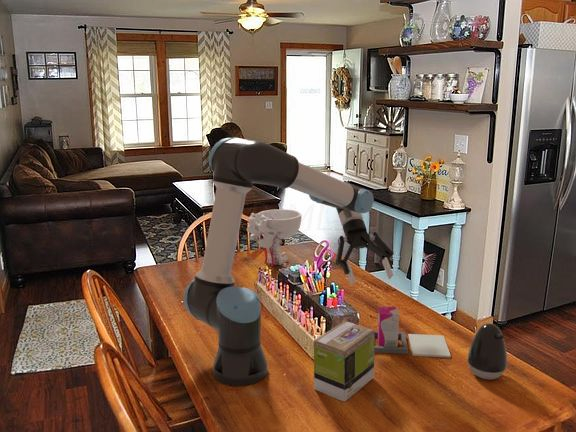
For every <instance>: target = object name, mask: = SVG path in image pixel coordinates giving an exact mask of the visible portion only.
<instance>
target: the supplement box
mask: <svg viewBox="0 0 576 432" xmlns="http://www.w3.org/2000/svg"><path fill="white" fill-rule="evenodd" d="M377 317H378V318H377V319H378V320H377V321H378V322H377V323H378V324H377V325H378V326H377V331H378V337H377V343H378V345H377V346H386V347H399V338H398V332H399V324H400V323H399V322H400V320H399V319H400V313H399V310H398V306H378V316H377Z"/></svg>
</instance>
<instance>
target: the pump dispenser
mask: <svg viewBox="0 0 576 432" xmlns="http://www.w3.org/2000/svg"><path fill="white" fill-rule="evenodd" d="M467 363H468V366H469V368H470V370H471V372H472V374H474V375H475V376H477V377H478V378H481V379H483V380H488V381H489V380H496V379H498V378H500V377H501V376H502V375H503V374H504V373H505V370H506V369H507V367H508V354H507V347H506V342H505V335H503V333H502V331H501V329H500V328H499V326H498V325H496V324H494V323H491V322H489V323H484V324H482V325H481V326H480V327H479V328H478V329H477V331H476V333H475V335H474V336H473V339H472V340H471V343H470V346H469V349H468V354H467Z"/></svg>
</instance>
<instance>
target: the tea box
mask: <svg viewBox="0 0 576 432" xmlns="http://www.w3.org/2000/svg"><path fill="white" fill-rule="evenodd" d="M375 331H376V330H375V329H373V328H370V327H366V326H362V325H360V324H356V323H353V322H351V321H350V322H349V321H347V320H344V321H342V322H341V323H339V324H337V325H336V326H334V327H332V328H331V329H330V330H328V331H326V332H325V333H323V334H321V335H320V336H319V337H317V338H316V339H313V375H314V376H313V388H314V390H316V391H318V392H321V393H322V394H325V395H326V396H329V397H331V398H333V399H335V400H338V401H341V402H344V403H345V402H346V401H347V400H348V399H350V398H351V397H352V396H353V395H355V394H356V393H357V392H358V391H360V390H361V389H362V388H363V387H365V386H366V385H367V384H368V383H369V382H370V381H372V380H373V379H374V378H375V352H374V346H376V345H375V342H376V341H375V338H376V337H375Z"/></svg>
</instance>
